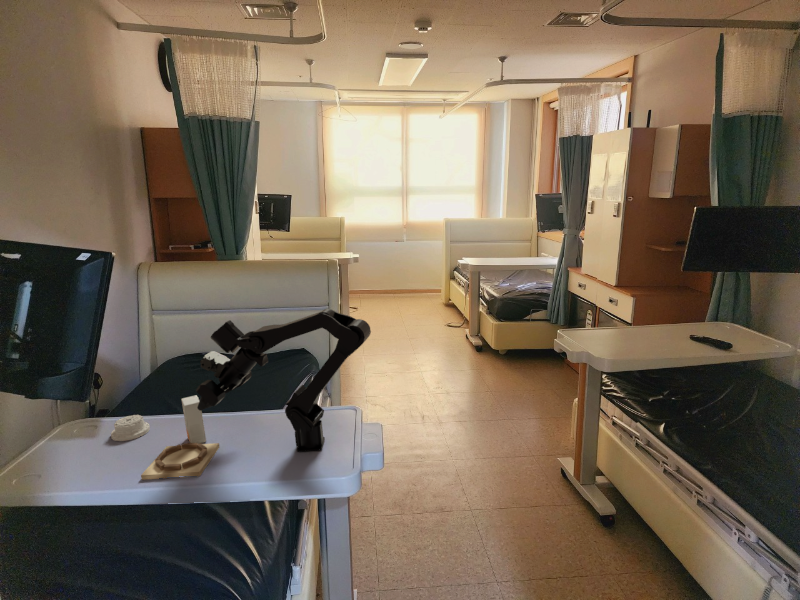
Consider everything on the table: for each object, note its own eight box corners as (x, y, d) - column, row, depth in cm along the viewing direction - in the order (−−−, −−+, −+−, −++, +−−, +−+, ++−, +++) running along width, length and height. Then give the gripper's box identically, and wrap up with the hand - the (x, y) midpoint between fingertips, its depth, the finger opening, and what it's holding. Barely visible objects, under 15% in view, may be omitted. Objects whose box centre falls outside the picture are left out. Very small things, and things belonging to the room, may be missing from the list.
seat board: (219, 447, 133) (218, 439, 133) (199, 476, 120) (198, 467, 119) (167, 450, 133) (166, 442, 133) (141, 479, 119) (140, 470, 119)
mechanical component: (103, 441, 141) (133, 443, 139) (100, 427, 140) (131, 428, 138) (128, 425, 151) (157, 426, 149) (126, 411, 150) (155, 413, 148)
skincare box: (187, 438, 140) (180, 398, 137) (203, 433, 142) (197, 394, 139) (190, 446, 134) (183, 405, 132) (206, 442, 137) (200, 401, 134)
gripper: (236, 333, 139) (206, 369, 143) (198, 354, 121) (164, 395, 126) (265, 360, 139) (234, 395, 144) (231, 385, 121) (196, 425, 126)
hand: (208, 402), depth 135 cm, fingers open, 9 cm apart
